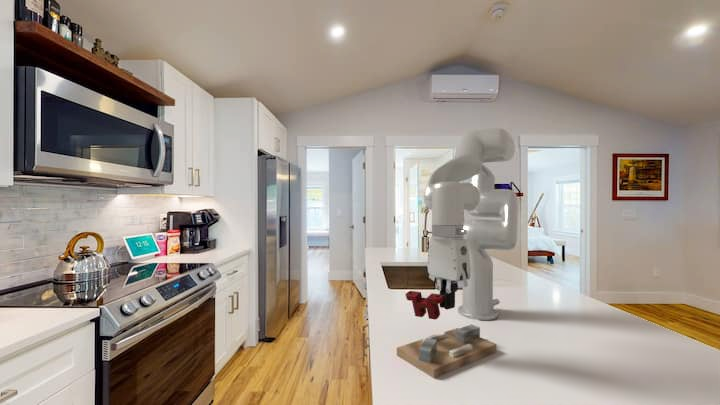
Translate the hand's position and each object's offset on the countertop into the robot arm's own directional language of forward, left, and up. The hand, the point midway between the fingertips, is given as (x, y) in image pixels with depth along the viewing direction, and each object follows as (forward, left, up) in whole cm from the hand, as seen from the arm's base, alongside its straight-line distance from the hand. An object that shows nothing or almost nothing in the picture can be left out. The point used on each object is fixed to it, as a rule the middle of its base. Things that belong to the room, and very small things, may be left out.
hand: (447, 307), depth 77 cm
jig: (0, 0, -11) cm, 11 cm away
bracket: (+2, +1, 0) cm, 2 cm away
